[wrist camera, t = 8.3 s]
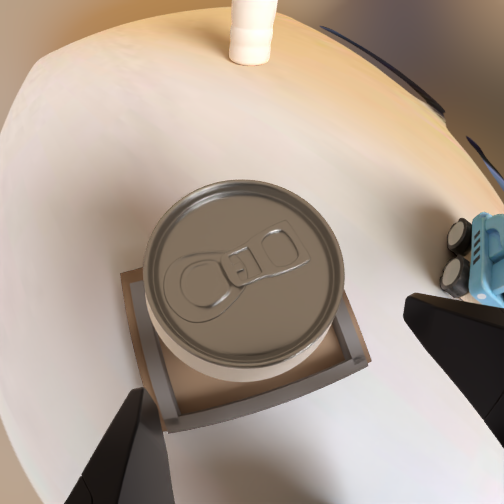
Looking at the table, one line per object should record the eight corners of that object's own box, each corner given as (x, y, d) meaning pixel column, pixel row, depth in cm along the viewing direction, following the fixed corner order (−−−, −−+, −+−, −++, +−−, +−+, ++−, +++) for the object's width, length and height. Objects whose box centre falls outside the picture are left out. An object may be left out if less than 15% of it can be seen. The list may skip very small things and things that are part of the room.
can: (173, 307, 18) (105, 215, 8) (254, 269, 20) (284, 148, 9) (214, 391, 16) (188, 427, 5) (298, 347, 18) (396, 306, 7)
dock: (357, 363, 20) (379, 360, 17) (166, 425, 17) (154, 435, 13) (306, 237, 24) (318, 215, 21) (130, 283, 21) (114, 267, 18)
